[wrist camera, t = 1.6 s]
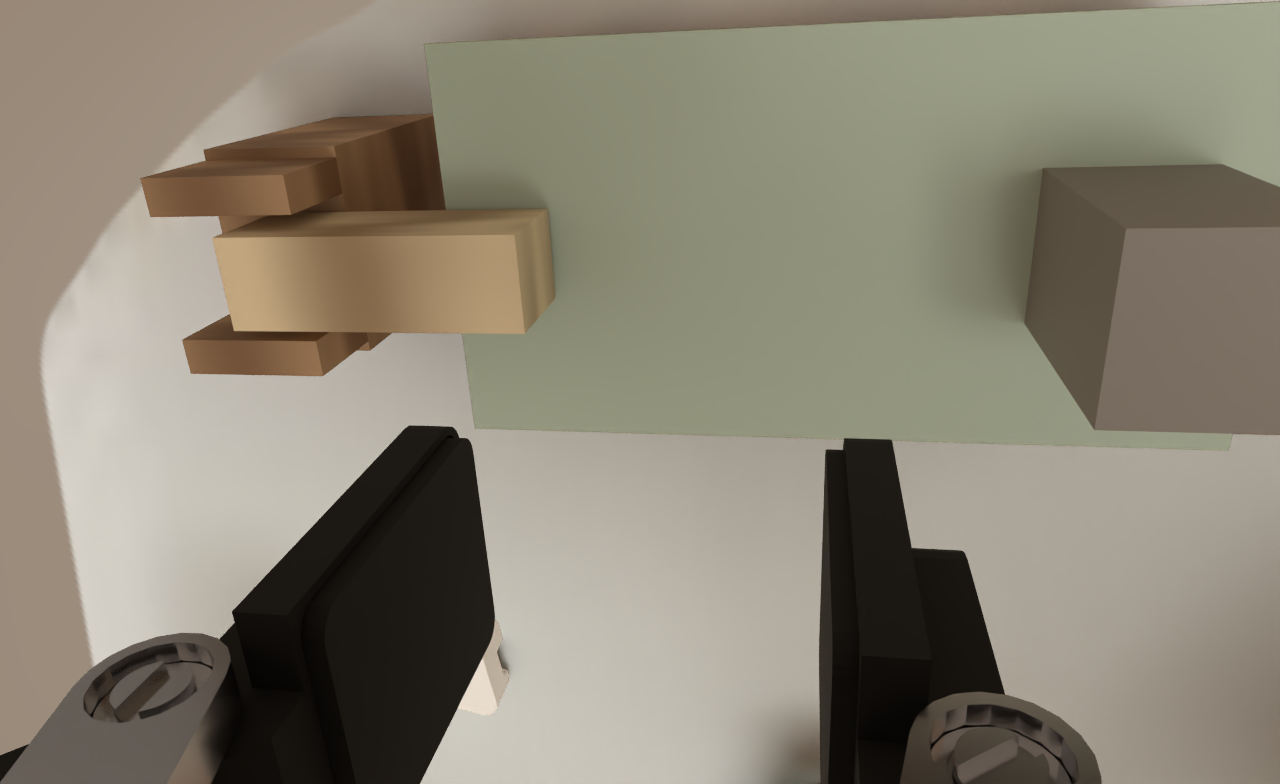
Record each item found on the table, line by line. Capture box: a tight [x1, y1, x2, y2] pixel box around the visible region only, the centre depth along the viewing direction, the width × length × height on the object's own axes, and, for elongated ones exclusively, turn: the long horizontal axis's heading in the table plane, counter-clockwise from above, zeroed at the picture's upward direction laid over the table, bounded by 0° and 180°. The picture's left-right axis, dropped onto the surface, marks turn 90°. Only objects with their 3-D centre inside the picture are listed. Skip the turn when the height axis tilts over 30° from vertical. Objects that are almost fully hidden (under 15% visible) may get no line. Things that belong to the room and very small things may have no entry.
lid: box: [424, 1, 1280, 451], centre depth 21 cm, size 21×11×7 cm, turn 93°
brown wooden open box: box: [141, 114, 446, 376], centre depth 27 cm, size 28×10×11 cm, turn 93°
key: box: [212, 209, 555, 334], centre depth 24 cm, size 8×2×3 cm, turn 93°
